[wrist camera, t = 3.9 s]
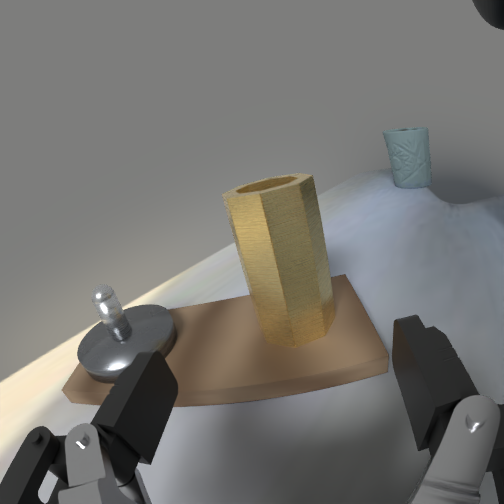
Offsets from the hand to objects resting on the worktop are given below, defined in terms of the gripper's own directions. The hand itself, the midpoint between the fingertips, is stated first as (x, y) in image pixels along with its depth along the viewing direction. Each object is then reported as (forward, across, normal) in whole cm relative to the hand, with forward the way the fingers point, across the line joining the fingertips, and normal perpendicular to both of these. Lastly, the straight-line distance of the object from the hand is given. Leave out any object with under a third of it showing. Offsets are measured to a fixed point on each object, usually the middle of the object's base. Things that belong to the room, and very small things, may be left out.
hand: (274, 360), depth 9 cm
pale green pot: (+52, -27, +8) cm, 59 cm away
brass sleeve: (+10, 0, +6) cm, 12 cm away
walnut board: (+10, +7, +8) cm, 14 cm away
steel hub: (+9, +14, +6) cm, 18 cm away
